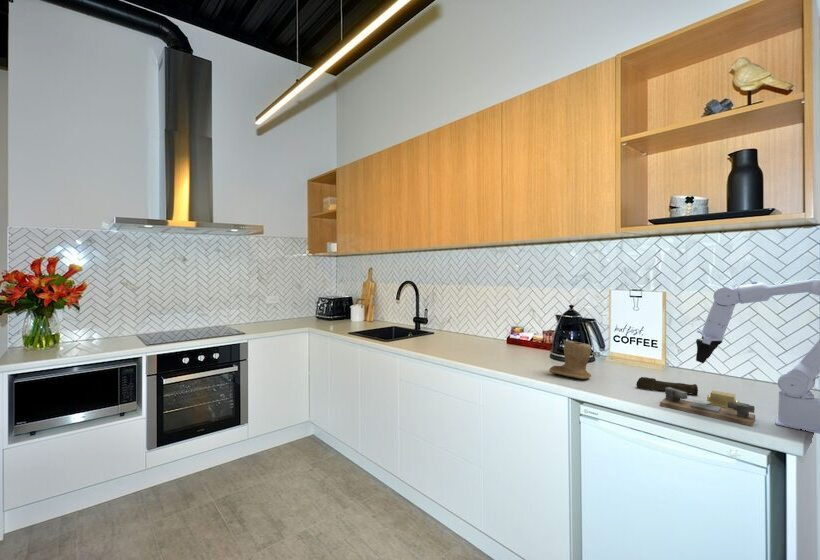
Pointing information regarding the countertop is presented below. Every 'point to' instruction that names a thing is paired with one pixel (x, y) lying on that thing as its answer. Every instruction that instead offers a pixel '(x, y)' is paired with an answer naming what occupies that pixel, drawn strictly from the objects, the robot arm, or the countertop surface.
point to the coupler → (721, 399)
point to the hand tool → (665, 385)
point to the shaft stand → (709, 408)
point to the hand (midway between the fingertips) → (702, 359)
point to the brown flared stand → (574, 360)
